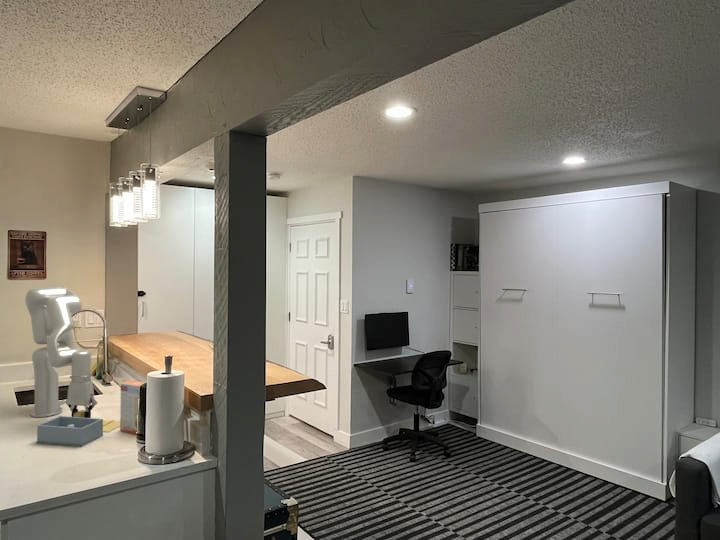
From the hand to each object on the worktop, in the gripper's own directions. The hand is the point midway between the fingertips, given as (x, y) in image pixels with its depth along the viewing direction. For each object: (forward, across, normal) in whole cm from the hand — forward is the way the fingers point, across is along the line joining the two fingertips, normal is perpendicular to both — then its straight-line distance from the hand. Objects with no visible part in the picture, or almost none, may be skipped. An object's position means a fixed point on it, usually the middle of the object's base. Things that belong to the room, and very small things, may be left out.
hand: (81, 418), depth 214 cm
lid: (+3, +8, 0) cm, 8 cm away
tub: (+3, +8, -16) cm, 18 cm away
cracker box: (+3, +29, -3) cm, 29 cm away
